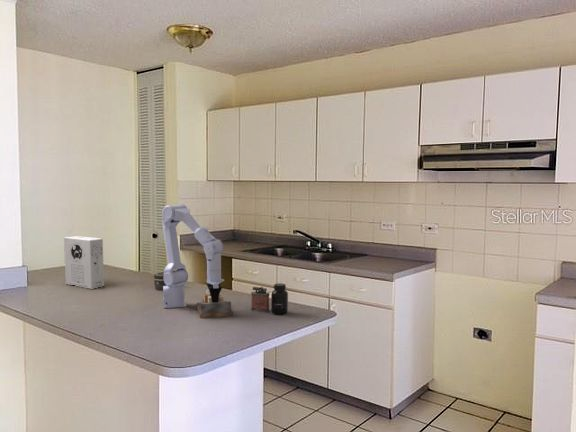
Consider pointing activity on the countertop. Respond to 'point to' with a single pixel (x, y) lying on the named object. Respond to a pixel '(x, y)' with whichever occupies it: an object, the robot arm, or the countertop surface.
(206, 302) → the block
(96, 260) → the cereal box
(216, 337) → the countertop surface
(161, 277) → the jar
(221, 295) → the block
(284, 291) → the supplement bottle
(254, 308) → the lighter
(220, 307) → the press bed
